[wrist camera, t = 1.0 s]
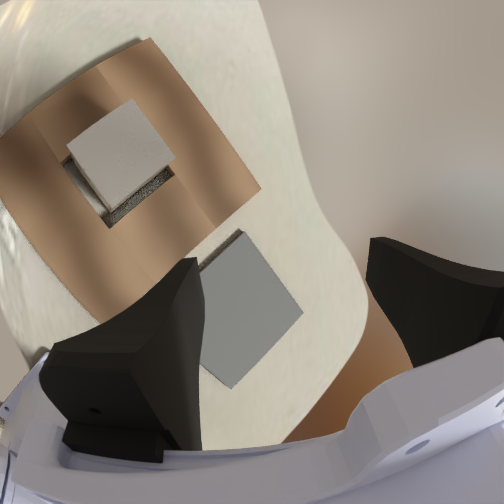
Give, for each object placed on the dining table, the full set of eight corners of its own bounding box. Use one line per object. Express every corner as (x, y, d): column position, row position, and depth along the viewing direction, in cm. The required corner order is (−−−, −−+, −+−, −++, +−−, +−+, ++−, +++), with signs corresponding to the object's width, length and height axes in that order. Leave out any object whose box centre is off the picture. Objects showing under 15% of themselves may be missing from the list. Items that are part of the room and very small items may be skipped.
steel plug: (110, 213, 19) (112, 208, 14) (76, 166, 17) (66, 145, 12) (157, 175, 20) (176, 157, 15) (123, 130, 18) (132, 98, 13)
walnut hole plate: (106, 325, 19) (107, 330, 18) (-16, 163, 13) (-21, 160, 12) (254, 190, 24) (261, 188, 23) (147, 44, 18) (150, 37, 17)
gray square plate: (229, 387, 25) (230, 389, 24) (151, 317, 21) (152, 318, 20) (301, 311, 28) (303, 312, 27) (242, 231, 24) (245, 231, 23)
